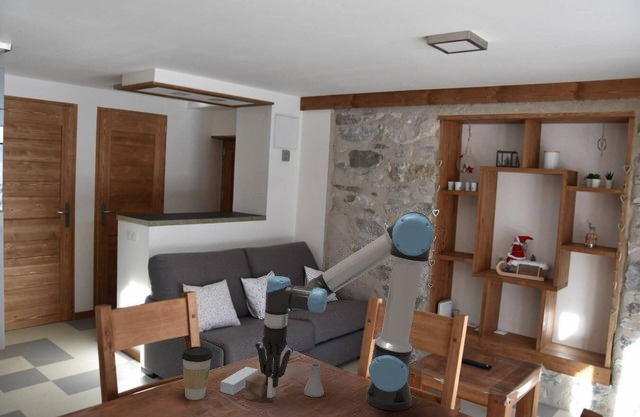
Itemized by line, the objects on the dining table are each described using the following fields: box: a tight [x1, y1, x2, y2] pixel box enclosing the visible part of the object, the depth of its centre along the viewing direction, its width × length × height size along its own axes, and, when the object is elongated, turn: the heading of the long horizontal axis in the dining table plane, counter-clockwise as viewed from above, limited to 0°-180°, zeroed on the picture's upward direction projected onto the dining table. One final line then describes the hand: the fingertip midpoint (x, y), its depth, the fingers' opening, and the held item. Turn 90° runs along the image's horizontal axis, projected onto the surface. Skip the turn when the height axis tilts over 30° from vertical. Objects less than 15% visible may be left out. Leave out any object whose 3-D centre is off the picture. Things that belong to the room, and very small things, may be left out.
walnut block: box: [244, 374, 268, 403], centre depth 177 cm, size 6×6×6 cm
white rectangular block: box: [219, 366, 259, 396], centre depth 185 cm, size 5×16×4 cm, turn 156°
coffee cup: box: [181, 345, 213, 401], centre depth 174 cm, size 10×10×15 cm
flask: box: [303, 362, 325, 398], centre depth 183 cm, size 7×7×10 cm
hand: (270, 396), depth 175 cm, fingers closed
